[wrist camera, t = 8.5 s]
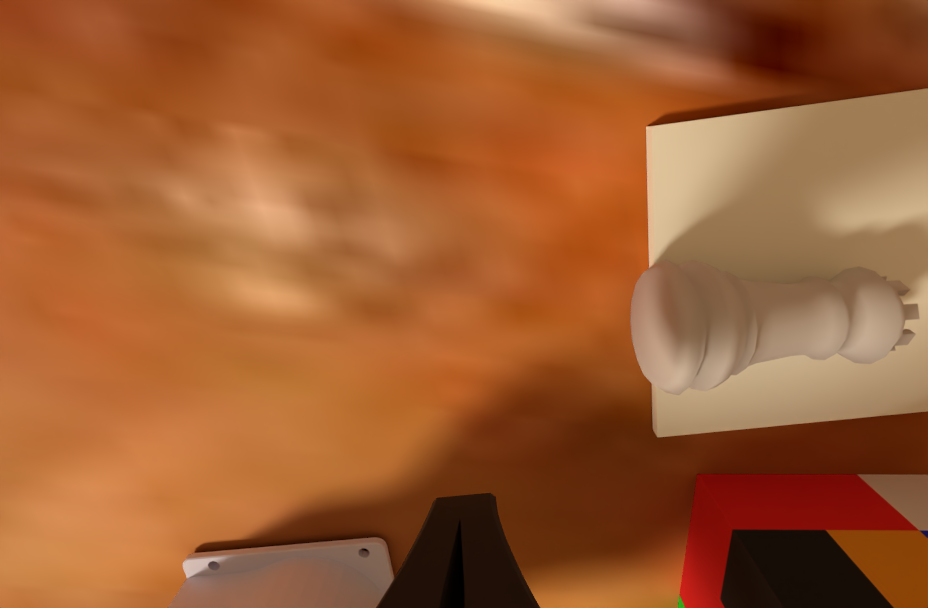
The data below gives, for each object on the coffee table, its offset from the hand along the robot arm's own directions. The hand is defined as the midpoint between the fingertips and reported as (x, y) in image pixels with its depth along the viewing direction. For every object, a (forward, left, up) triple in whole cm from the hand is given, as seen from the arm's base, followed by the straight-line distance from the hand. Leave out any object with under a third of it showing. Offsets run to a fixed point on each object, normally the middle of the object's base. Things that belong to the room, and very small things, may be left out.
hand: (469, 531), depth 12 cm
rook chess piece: (+6, +2, -6) cm, 9 cm away
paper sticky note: (+12, +2, -9) cm, 16 cm away
